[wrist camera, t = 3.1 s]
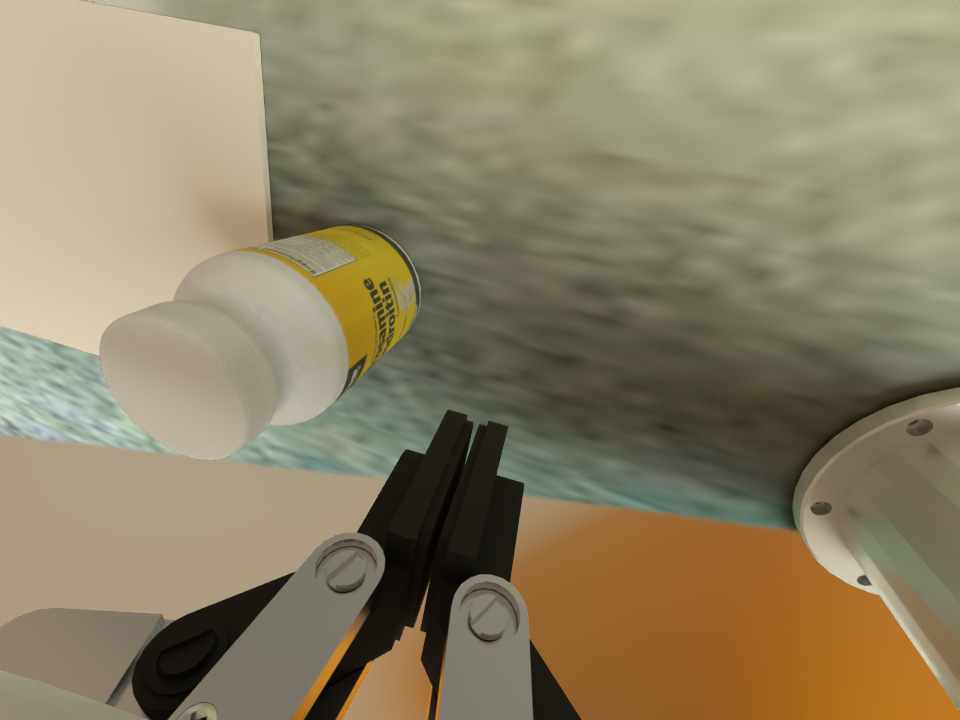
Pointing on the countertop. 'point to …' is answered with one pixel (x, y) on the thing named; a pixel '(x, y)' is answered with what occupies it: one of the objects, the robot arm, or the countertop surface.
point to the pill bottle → (260, 338)
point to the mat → (121, 160)
